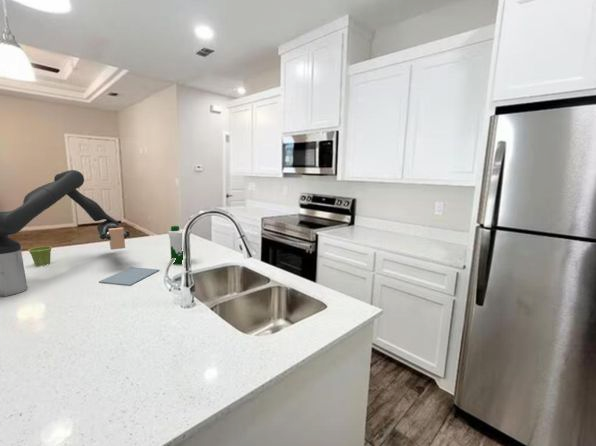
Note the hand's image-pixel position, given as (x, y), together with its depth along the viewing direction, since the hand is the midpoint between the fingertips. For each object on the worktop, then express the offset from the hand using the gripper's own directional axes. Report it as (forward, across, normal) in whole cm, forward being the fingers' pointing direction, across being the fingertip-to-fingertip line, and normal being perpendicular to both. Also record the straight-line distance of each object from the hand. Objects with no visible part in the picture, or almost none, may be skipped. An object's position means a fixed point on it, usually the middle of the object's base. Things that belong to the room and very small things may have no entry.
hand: (117, 237), depth 147 cm
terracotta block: (-2, 0, +6) cm, 6 cm away
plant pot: (-33, -30, +17) cm, 48 cm away
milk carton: (+5, +28, +17) cm, 33 cm away
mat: (+12, +2, +17) cm, 21 cm away
